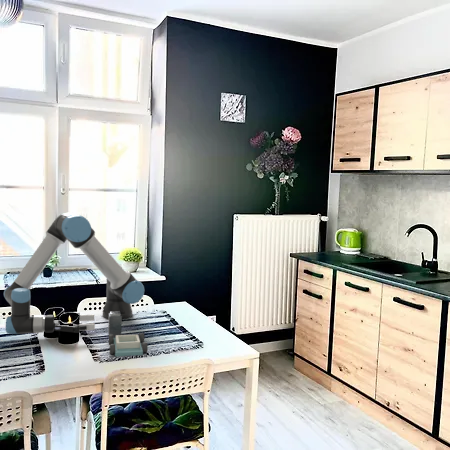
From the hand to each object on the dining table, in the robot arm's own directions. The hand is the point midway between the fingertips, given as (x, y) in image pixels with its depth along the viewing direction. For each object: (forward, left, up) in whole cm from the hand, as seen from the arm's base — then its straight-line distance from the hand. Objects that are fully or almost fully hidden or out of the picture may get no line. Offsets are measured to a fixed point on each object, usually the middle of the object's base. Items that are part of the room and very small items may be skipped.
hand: (94, 322), depth 215 cm
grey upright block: (+7, +5, -6) cm, 11 cm away
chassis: (+21, -8, -6) cm, 24 cm away
